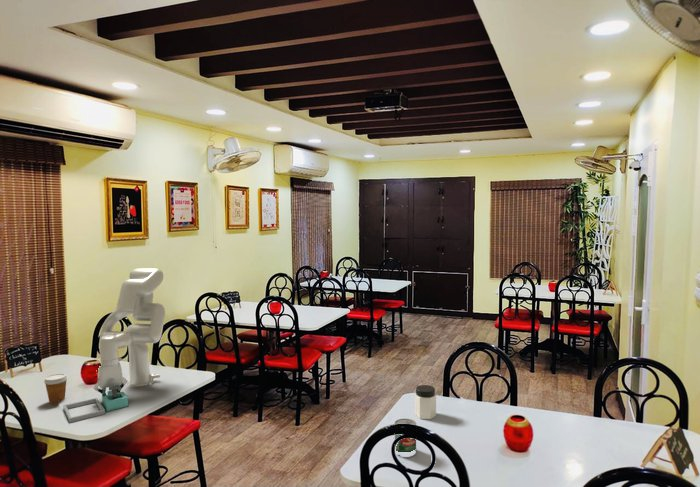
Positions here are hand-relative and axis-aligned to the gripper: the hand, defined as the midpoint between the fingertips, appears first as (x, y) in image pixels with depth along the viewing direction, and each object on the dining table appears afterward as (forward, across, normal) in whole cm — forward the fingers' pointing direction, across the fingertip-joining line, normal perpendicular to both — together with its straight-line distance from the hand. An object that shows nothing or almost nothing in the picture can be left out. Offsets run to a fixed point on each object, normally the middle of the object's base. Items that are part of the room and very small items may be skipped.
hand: (111, 399), depth 231 cm
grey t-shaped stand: (+1, 0, +8) cm, 8 cm away
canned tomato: (+2, -74, +120) cm, 141 cm away
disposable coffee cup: (+2, +20, -18) cm, 27 cm away
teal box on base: (0, 0, +5) cm, 5 cm away
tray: (+1, +12, +6) cm, 14 cm away
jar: (+2, -103, +102) cm, 145 cm away
